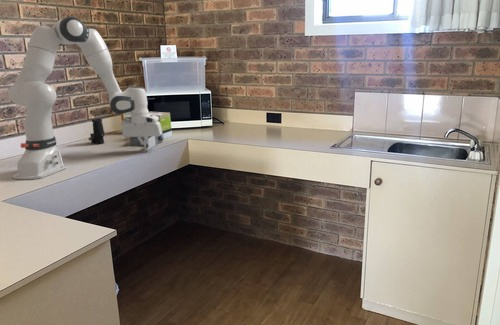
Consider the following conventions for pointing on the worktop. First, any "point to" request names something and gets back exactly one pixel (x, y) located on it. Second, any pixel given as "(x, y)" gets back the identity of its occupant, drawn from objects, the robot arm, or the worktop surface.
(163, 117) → the tea box
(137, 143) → the box
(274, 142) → the worktop surface
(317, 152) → the worktop surface
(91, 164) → the worktop surface
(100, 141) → the scope
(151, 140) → the side door
